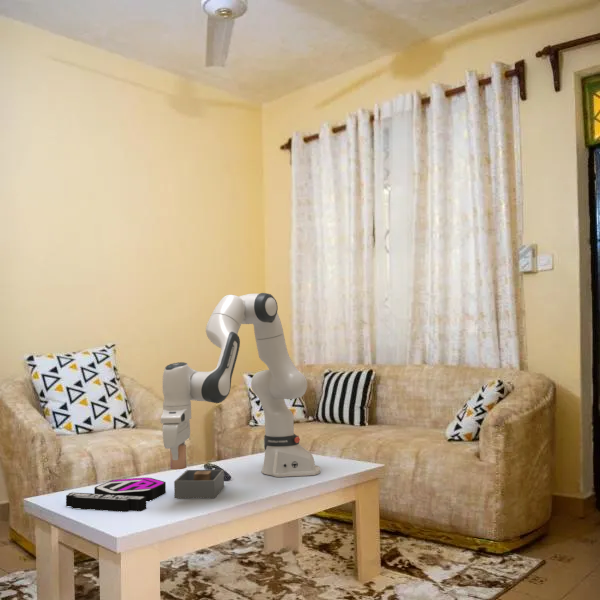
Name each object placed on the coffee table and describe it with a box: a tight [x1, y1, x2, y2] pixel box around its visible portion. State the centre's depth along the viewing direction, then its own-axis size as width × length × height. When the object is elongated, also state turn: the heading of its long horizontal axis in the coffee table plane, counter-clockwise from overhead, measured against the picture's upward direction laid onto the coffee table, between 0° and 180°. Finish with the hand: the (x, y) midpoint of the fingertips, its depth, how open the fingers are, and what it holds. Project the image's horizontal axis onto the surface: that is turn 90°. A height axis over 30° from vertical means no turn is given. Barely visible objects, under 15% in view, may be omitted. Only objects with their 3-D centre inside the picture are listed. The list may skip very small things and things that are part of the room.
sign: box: [65, 477, 167, 513], centre depth 211 cm, size 27×4×30 cm
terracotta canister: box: [169, 443, 187, 471], centre depth 204 cm, size 5×5×7 cm
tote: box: [173, 469, 225, 499], centre depth 217 cm, size 13×17×6 cm
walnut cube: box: [194, 471, 211, 481], centre depth 221 cm, size 5×5×5 cm
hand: (178, 457), depth 204 cm, fingers closed on terracotta canister, 5 cm apart
